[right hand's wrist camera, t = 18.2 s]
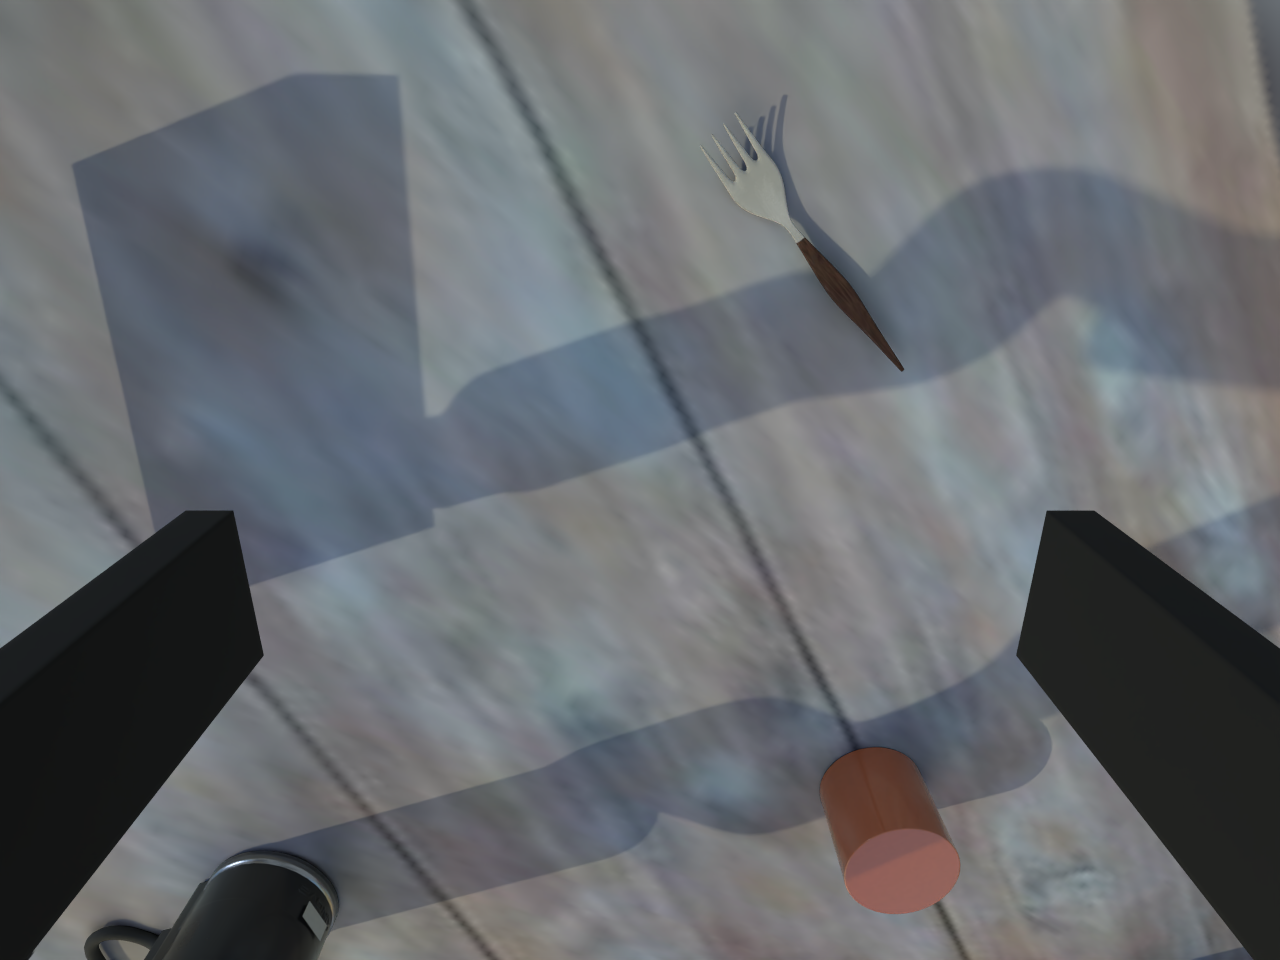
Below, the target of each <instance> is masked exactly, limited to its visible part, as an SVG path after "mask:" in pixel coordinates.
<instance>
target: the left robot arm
mask: <svg viewBox="0 0 1280 960" xmlns="http://www.w3.org/2000/svg"><path fill="white" fill-rule="evenodd" d="M338 907H339V905H338V897H337V894H336V891H335V889H334V887H333V886H332V884H331V882H330V881H329V880H328V879H327V877H326V876H325V875H324V874H323V873H322V872H321V871H319V870H318V869H317V868H316V867H314V866H313V865H311V864H309V863H308V862H306V861H304V860H302V859H300V858H297V857H294V856H292V855H288V854H285V853H280V852H274V851H252V852H246V853H242V854H239V855H236V856H233V857H231V858H229V859H227V860H226V861H224V862H223V863H222V864H221V865H219V866H218V868H217V869H216V870H215V871H214V873H213V874H212V876H211V878H210V879H209V881H206V882H203V883H200V884H199V885H198V887H197V889H196V890H195V892H194V893H193V895H192V897H191V898H190V900H189V901H188V903H187V905H186V906H185V908H184V910H183V911H182V913H181V914H180V916H179V918H178V919H177V921H176V922H175V924H174V926H173V927H172V928H171V929H167V930H163V931H162V932H161V934H160V935H159V937H158V936H157V935H155V934H153V933H150V932H147V931H144V930H141V929H138V928H134V927H129V926H109V927H105V928H102V929H99V930H98V931H96V932H94V933H92V934H91V935H90V936H89V937H88V939H87V940H86V943H85V946H84V950H85V955H86V958H87V960H106V959H105V957H104V956H103V954H102V953H101V951H100V949H99V943H100V942H102V941H106V940H125V941H130V942H134V943H137V944H140V945H142V946H145V947H146V948H148V949H150V951H149V953H148V954H147V956H146V958H145V959H144V960H318V957H319V955H320V952H321V950H322V947H323V945H324V942H325V940H326V938H327V936H328V935H329V933H330V931H331V929H332V927H333V924H334V922H335V919H336V917H337V913H338ZM33 954H34V952H32V953H31V954H30V956H29V957H28V958H27V959H26V960H29V959H30V957H31V956H32V955H33Z"/></svg>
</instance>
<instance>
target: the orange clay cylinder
mask: <svg viewBox="0 0 1280 960" xmlns="http://www.w3.org/2000/svg"><path fill="white" fill-rule="evenodd" d="M820 798H821V802H822V806H823V809H824V813H825V816H826V820H827V823H828V827H829V830H830V834H831V837H832V840H833V844H834V847H835V851H836V854H837V858H838V861H839V865H840V868H841V872H842V875H843V879H844V882H845V885H846V888H847V890H848V892H849V893H850V895H851V896H852V897H853V898H854V899H855V900H856V901H857V902H858V903H859V904H861V905H862V906H864V907H866V908H868V909H870V910H873V911H876V912H881V913H887V914H904V913H910V912H915V911H918V910H921V909H924V908H927V907H929V906H931V905H933V904H935V903H936V902H938V901H939V900H941V899H942V898H943V897H945V896H946V895H947V894H948V893H949V892H950V890H951V889H952V888H953V886H954V885H955V883H956V881H957V879H958V876H959V872H960V858H959V855H958V853H957V850H956V848H955V846H954V844H953V842H952V840H951V838H950V835H949V833H948V831H947V829H946V827H945V825H944V823H943V820H942V818H941V816H940V814H939V812H938V810H937V808H936V805H935V803H934V801H933V799H932V797H931V795H930V793H929V790H928V788H927V786H926V784H925V782H924V780H923V778H922V775H921V773H920V771H919V769H918V767H917V766H916V765H915V763H914V762H913V761H912V760H911V759H910V758H908V757H907V756H906V755H904V754H902V753H900V752H898V751H895V750H892V749H888V748H881V747H871V748H864V749H859V750H856V751H853V752H850V753H848V754H846V755H844V756H842V757H841V758H839V759H838V760H837V761H835V762H834V763H833V764H832V765H831V766H830V767H829V768H828V770H827V771H826V773H825V774H824V776H823V778H822V781H821V785H820Z"/></svg>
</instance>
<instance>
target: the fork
mask: <svg viewBox="0 0 1280 960" xmlns="http://www.w3.org/2000/svg"><path fill="white" fill-rule="evenodd" d="M734 114H735V115H736V117H737V119H738V120H739V122H740V124H741V126H742V128H743V130H744V131H745V133H746V135H747V137H748V139H749V140H750V142H751V144H752V146H753V147H754V149H755V151H756V153H757V155H758V160H757V161H755V160H753V159H752V158H751V157H750V156H749V154H748V153H747V152H746V151H745V149H744V148H743V147H742V145H741V144H740V143H739V142H738V140H737V139H736V138H735V136H734V135H733V134H732V133H731V131H730V130H729V129H728V128H727V126H726V125H725V124H724V123H723V125H724V127H725V129H726V131H727V132H728V134H729V136H730V138H731V140H732V141H733V143H734V145H735V147H736V148H737V150H738V152H739V153H740V155H741V157H742V158H743V160H744V162H745V164H746V167H747V169H746V171H743V170H742V169H741V168H740V167H739V166H738V165H737V164H736V163H735V161H734V160H733V159H732V158H731V156H730V155H729V154H728V153H727V151H726V150H725V149H724V148H723V146H722V145H721V144H720V143H719V142H718V140H717V139H716V138H715V137H714V135H713V134H711V135H712V137H713V139H714V141H715V142H716V144H717V146H718V147H719V149H720V151H721V153H722V154H723V156H724V158H725V159H726V161H727V163H728V164H729V166H730V167H731V169H732V171H733V173H734V175H735V178H736V179H735V181H731V180H730V179H729V178H728V177H727V176H726V174H725V173H724V172H723V171H722V170H721V168H720V167H719V166H718V165H717V164H716V162H715V161H714V160H713V159H712V158H711V156H710V155H709V154H708V153H707V152H706V150H705V149H704V148H703V146H702V145H700V148H701V149H702V151H703V152H704V154H705V155H706V157H707V159H708V160H709V162H710V164H711V165H712V167H713V168H714V170H715V172H716V173H717V175H718V176H719V178H720V179H721V181H722V183H723V184H724V186H725V187H726V189H727V190H728V192H729V194H730V195H731V197H732V198H733V200H734V201H735V202H736V203H737V204H738V205H739V206H740V207H741V208H742V209H744V210H745V211H747V212H749V213H751V214H754V215H756V216H759V217H762V218H765V219H768V220H771V221H774V222H776V223H779V224H780V225H782V226H783V227H785V228H786V229H787V230H788V231H789V233H790V234H791V236H792V237H793V239H794V240H795V242H796V243H797V245H798V247H799V248H800V250H801V251H802V253H803V255H804V256H805V258H806V260H807V261H808V263H809V265H810V266H811V268H812V270H813V271H814V273H815V275H816V276H817V278H818V279H819V281H820V283H821V284H822V286H823V287H824V289H825V290H826V292H827V293H828V294H829V296H830V297H831V298H832V299H833V301H834V302H835V303H836V304H837V305H838V306H839V307H840V308H841V309H842V311H843V312H844V313H845V314H846V315H847V316H848V317H849V318H850V319H851V320H852V321H853V322H854V323H855V324H856V325H857V326H858V327H859V328H861V329H862V331H863V332H864V333H865V334H866V335H867V336H868V337H869V338H870V339H871V340H872V341H873V342H874V343H875V344H876V345H877V346H878V347H879V348H880V349H881V350H882V351H883V352H884V354H885V355H886V356H887V357H888V358H889V359H890V360H891V361H892V362H893V363H894V364H895V365H896V366H897V367H898V369H899V370H900V371H903V370H904V368H903V366H902V365H901V363H900V362H899V360H898V359H897V357H896V356H895V354H894V352H893V351H892V349H891V348H890V346H889V345H888V343H887V342H886V340H885V339H884V337H883V335H882V334H881V332H880V331H879V329H878V327H877V326H876V324H875V323H874V321H873V319H872V318H871V316H870V314H869V313H868V311H867V309H866V308H865V306H864V305H863V303H862V301H861V300H860V298H859V297H858V295H857V294H856V292H855V291H854V289H853V288H852V287H851V285H850V284H849V283H848V282H847V280H846V279H845V278H844V277H843V276H842V275H841V274H840V273H839V272H838V271H837V269H836V268H835V267H834V266H833V265H832V264H831V263H830V262H829V261H828V260H827V259H826V258H825V257H824V256H823V255H822V254H821V253H820V252H819V251H818V250H817V249H816V248H815V247H814V246H813V245H812V244H811V243H810V242H809V241H808V240H807V239H806V238H805V237H804V236H803V235H802V234H801V233H800V232H799V231H798V229H797V228H796V227H795V226H794V224H793V223H792V221H791V219H790V216H789V213H788V208H787V202H786V194H785V188H784V183H783V180H782V176H781V174H780V171H779V169H778V167H777V166H776V164H775V163H774V161H773V160H772V159H771V158H770V156H769V155H768V154H767V153H766V152H765V150H764V149H763V148H762V146H761V145H760V144H759V142H758V141H757V140H756V138H755V137H754V136H753V134H752V133H751V131H750V130H749V129H748V128H747V126H746V125H745V124H744V122H743V121H742V120H741V118H740V117H739V115H738V114H737V112H735V113H734Z"/></svg>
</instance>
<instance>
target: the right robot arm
mask: <svg viewBox="0 0 1280 960" xmlns="http://www.w3.org/2000/svg"><path fill="white" fill-rule="evenodd" d="M263 656H264V655H263V650H262V645H261V640H260V636H259V631H258V626H257V621H256V617H255V612H254V607H253V602H252V598H251V593H250V588H249V583H248V579H247V574H246V569H245V564H244V560H243V555H242V550H241V545H240V541H239V536H238V531H237V526H236V522H235V517H234V512H233V511H185V512H183V513H182V514H181V515H179V516H178V517H177V518H175V519H174V520H173V521H171V522H170V523H169V524H167V525H166V526H164V527H163V528H162V529H160V530H159V531H158V532H156V533H155V534H154V535H152V536H151V537H150V538H148V539H147V540H146V541H144V542H143V543H142V544H140V545H139V546H138V547H136V548H135V549H134V550H132V551H131V552H129V553H128V554H127V555H125V556H124V557H123V558H121V559H120V560H119V561H117V562H116V563H115V564H113V565H112V566H111V567H109V568H108V569H107V570H105V571H104V572H103V573H101V574H100V575H99V576H97V577H96V578H95V579H93V580H92V581H90V582H89V583H88V584H86V585H85V586H84V587H82V588H81V589H80V590H78V591H77V592H76V593H74V594H73V595H72V596H70V597H69V598H68V599H66V600H65V601H64V602H62V603H61V604H60V605H58V606H57V607H55V608H54V609H53V610H51V611H50V612H49V613H47V614H46V615H45V616H43V617H42V618H41V619H39V620H38V621H37V622H35V623H34V624H33V625H31V626H30V627H29V628H27V629H26V630H25V631H23V632H22V633H20V634H19V635H18V636H16V637H15V638H14V639H12V640H11V641H10V642H8V643H7V644H6V645H4V646H3V647H2V648H0V960H26V959H27V958H28V957H29V956H30V954H31V953H32V952H33V950H34V949H35V948H36V947H37V945H38V944H39V943H40V941H41V940H42V939H43V938H44V936H45V935H46V934H47V932H48V931H49V930H50V929H51V927H52V926H53V925H54V924H55V922H56V921H57V920H58V918H59V917H60V916H61V915H62V913H63V912H64V911H65V909H66V908H67V907H68V906H69V904H70V903H71V902H72V900H73V899H74V898H75V897H76V895H77V894H78V893H79V891H80V890H81V889H82V888H83V886H84V885H85V884H86V883H87V881H88V880H89V879H90V877H91V876H92V875H93V874H94V872H95V871H96V870H97V868H98V867H99V866H100V865H101V863H102V862H103V861H104V859H105V858H106V857H107V856H108V854H109V853H110V852H111V850H112V849H113V848H114V847H115V845H116V844H117V843H118V841H119V840H120V839H121V838H122V836H123V835H124V834H125V833H126V831H127V830H128V829H129V827H130V826H131V825H132V824H133V822H134V821H135V820H136V818H137V817H138V816H139V815H140V813H141V812H142V811H143V809H144V808H145V807H146V806H147V804H148V803H149V802H150V800H151V799H152V798H153V797H154V795H155V794H156V793H157V792H158V790H159V789H160V788H161V786H162V785H163V784H164V783H165V781H166V780H167V779H168V777H169V776H170V775H171V774H172V772H173V771H174V770H175V768H176V767H177V766H178V765H179V763H180V762H181V761H182V759H183V758H184V757H185V756H186V754H187V753H188V752H189V750H190V749H191V748H192V747H193V745H194V744H195V743H196V742H197V740H198V739H199V738H200V736H201V735H202V734H203V733H204V731H205V730H206V729H207V727H208V726H209V725H210V724H211V722H212V721H213V720H214V718H215V717H216V716H217V715H218V713H219V712H220V711H221V709H222V708H223V707H224V706H225V704H226V703H227V702H228V701H229V699H230V698H231V697H232V695H233V694H234V693H235V692H236V690H237V689H238V688H239V686H240V685H241V684H242V683H243V681H244V680H245V679H246V677H247V676H248V675H249V674H250V672H251V671H252V670H253V668H254V667H255V666H256V665H257V663H258V662H259V661H260V659H261V658H262V657H263ZM1016 656H1017V657H1018V658H1019V659H1020V661H1021V662H1022V663H1023V665H1024V666H1025V667H1026V668H1027V670H1028V671H1029V672H1030V674H1031V675H1032V676H1033V677H1034V679H1035V680H1036V681H1037V683H1038V684H1039V685H1040V686H1041V688H1042V689H1043V690H1044V692H1045V693H1046V694H1047V695H1048V697H1049V698H1050V699H1051V701H1052V702H1053V703H1054V704H1055V706H1056V707H1057V708H1058V709H1059V711H1060V712H1061V713H1062V715H1063V716H1064V717H1065V718H1066V720H1067V721H1068V722H1069V724H1070V725H1071V726H1072V727H1073V729H1074V730H1075V731H1076V733H1077V734H1078V735H1079V736H1080V738H1081V739H1082V740H1083V742H1084V743H1085V744H1086V745H1087V747H1088V748H1089V749H1090V750H1091V752H1092V753H1093V754H1094V756H1095V757H1096V758H1097V759H1098V761H1099V762H1100V763H1101V765H1102V766H1103V767H1104V768H1105V770H1106V771H1107V772H1108V774H1109V775H1110V776H1111V777H1112V779H1113V780H1114V781H1115V783H1116V784H1117V785H1118V786H1119V788H1120V789H1121V790H1122V792H1123V793H1124V794H1125V795H1126V797H1127V798H1128V799H1129V800H1130V802H1131V803H1132V804H1133V806H1134V807H1135V808H1136V809H1137V811H1138V812H1139V813H1140V815H1141V816H1142V817H1143V818H1144V820H1145V821H1146V822H1147V824H1148V825H1149V826H1150V827H1151V829H1152V830H1153V831H1154V833H1155V834H1156V835H1157V836H1158V838H1159V839H1160V840H1161V841H1162V843H1163V844H1164V845H1165V847H1166V848H1167V849H1168V850H1169V852H1170V853H1171V854H1172V856H1173V857H1174V858H1175V859H1176V861H1177V862H1178V863H1179V865H1180V866H1181V867H1182V868H1183V870H1184V871H1185V872H1186V874H1187V875H1188V876H1189V877H1190V879H1191V880H1192V881H1193V883H1194V884H1195V885H1196V886H1197V888H1198V889H1199V890H1200V891H1201V893H1202V894H1203V895H1204V897H1205V898H1206V899H1207V900H1208V902H1209V903H1210V904H1211V906H1212V907H1213V908H1214V909H1215V911H1216V912H1217V913H1218V915H1219V916H1220V917H1221V918H1222V920H1223V921H1224V922H1225V924H1226V925H1227V926H1228V927H1229V929H1230V930H1231V931H1232V932H1233V934H1234V935H1235V936H1236V938H1237V939H1238V940H1239V941H1240V943H1241V944H1242V945H1243V947H1244V948H1245V949H1246V950H1247V952H1248V953H1249V954H1250V956H1251V957H1252V958H1253V959H1254V960H1280V648H1278V647H1277V646H1276V645H1274V644H1273V643H1272V642H1270V641H1269V640H1268V639H1266V638H1265V637H1264V636H1262V635H1261V634H1259V633H1258V632H1257V631H1255V630H1254V629H1253V628H1251V627H1250V626H1249V625H1247V624H1246V623H1245V622H1243V621H1242V620H1241V619H1239V618H1238V617H1237V616H1235V615H1234V614H1233V613H1231V612H1230V611H1229V610H1227V609H1226V608H1225V607H1223V606H1222V605H1220V604H1219V603H1218V602H1216V601H1215V600H1214V599H1212V598H1211V597H1210V596H1208V595H1207V594H1206V593H1204V592H1203V591H1202V590H1200V589H1199V588H1198V587H1196V586H1195V585H1194V584H1192V583H1191V582H1190V581H1188V580H1187V579H1185V578H1184V577H1183V576H1181V575H1180V574H1179V573H1177V572H1176V571H1175V570H1173V569H1172V568H1171V567H1169V566H1168V565H1167V564H1165V563H1164V562H1163V561H1161V560H1160V559H1159V558H1157V557H1156V556H1155V555H1153V554H1152V553H1151V552H1149V551H1148V550H1146V549H1145V548H1144V547H1142V546H1141V545H1140V544H1138V543H1137V542H1136V541H1134V540H1133V539H1132V538H1130V537H1129V536H1128V535H1126V534H1125V533H1124V532H1122V531H1121V530H1120V529H1118V528H1117V527H1116V526H1114V525H1113V524H1111V523H1110V522H1109V521H1107V520H1106V519H1105V518H1103V517H1102V516H1101V515H1099V514H1098V513H1097V512H1095V511H1047V512H1046V517H1045V522H1044V526H1043V531H1042V536H1041V541H1040V545H1039V550H1038V555H1037V560H1036V564H1035V569H1034V574H1033V579H1032V583H1031V588H1030V593H1029V598H1028V602H1027V607H1026V612H1025V617H1024V621H1023V626H1022V631H1021V636H1020V640H1019V645H1018V650H1017V655H1016Z"/></svg>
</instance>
